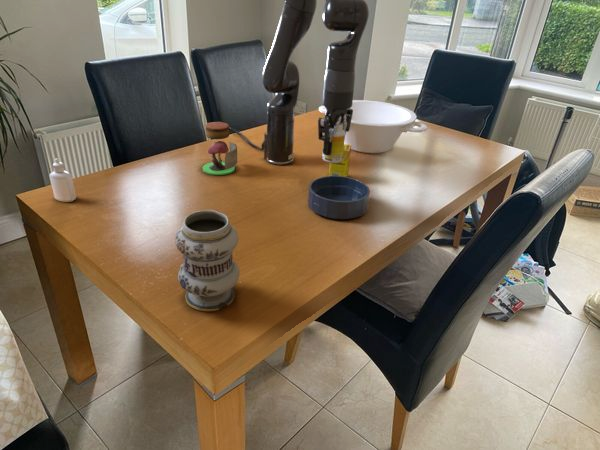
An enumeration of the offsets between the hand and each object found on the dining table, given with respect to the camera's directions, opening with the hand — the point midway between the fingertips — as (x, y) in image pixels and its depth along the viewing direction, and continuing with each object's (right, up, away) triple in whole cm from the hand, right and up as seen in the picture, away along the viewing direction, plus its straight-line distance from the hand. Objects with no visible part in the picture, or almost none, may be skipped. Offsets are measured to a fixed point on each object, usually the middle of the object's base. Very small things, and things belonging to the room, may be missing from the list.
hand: (332, 151), depth 120 cm
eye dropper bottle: (-74, -13, +5) cm, 76 cm away
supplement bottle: (0, -2, +1) cm, 3 cm away
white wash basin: (+18, +11, +56) cm, 60 cm away
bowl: (+2, -15, +10) cm, 18 cm away
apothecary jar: (-27, -35, -28) cm, 52 cm away
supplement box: (+4, -5, +28) cm, 28 cm away
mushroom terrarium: (-36, -2, +29) cm, 46 cm away
